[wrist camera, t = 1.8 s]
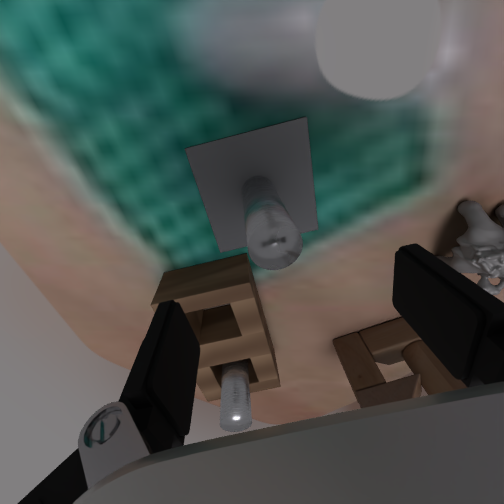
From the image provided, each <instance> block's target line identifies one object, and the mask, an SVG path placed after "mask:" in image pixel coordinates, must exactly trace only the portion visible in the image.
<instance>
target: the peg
mask: <svg viewBox="0 0 504 504" xmlns="http://www.w3.org/2000/svg"><path fill="white" fill-rule="evenodd" d="M242 202H243V211H244V219H245V228H246V236H247V245H248V252H249V255H250V258H251V259H252V261H253V262H254V263H255V264H256V265H258V266H259V267H261V268H264V269H268V270H278V269H282V268H285V267H287V266H289V265H291V264H292V263H293V262H294V261H295V260H296V259H297V258H298V257H299V255H300V253H301V251H302V246H303V242H302V237H301V235H300V233H299V231H298V229H297V227H296V225H295V224H294V222H293V220H292V218H291V216H290V215H289V213H288V211H287V209H286V207H285V205H284V204H283V202H282V200H281V198H280V196H279V195H278V193H277V191H276V189H275V187H274V185H273V184H272V182H271V181H270V180H269V179H267V178H265V177H262V176H256V177H252V178H250V179H249V180H247V181H246V182H245V184H244V186H243V188H242Z"/></svg>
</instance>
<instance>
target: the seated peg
mask: <svg viewBox="0 0 504 504" xmlns="http://www.w3.org/2000/svg"><path fill="white" fill-rule="evenodd" d="M251 424H252V418H251V403H250V387H249V371H248V359H243V360H238V361H233V362H229V363H224V364H222V381H221V408H220V427H221V428H222V429H223V430H226V431H230V432H238V431H242V430H245V429H247V428H249V427H250V426H251Z"/></svg>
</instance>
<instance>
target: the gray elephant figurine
mask: <svg viewBox="0 0 504 504" xmlns="http://www.w3.org/2000/svg"><path fill="white" fill-rule="evenodd" d="M458 211H459V213H460V214H462V215H463V216H464V218H465V220H466V222H467V224H468V227H469V228H468V229H467V231H466V232H465V233H464V234H463V235H462V236H460V237H458V238H457V243H458V244H460V246H458V247H454V248H452V252H453V257H445V256H436V257H437V258H439V259H440V260H442V261H443V262H445V263H446V264H448V265H449V266H451V267H452V268H453V269H455V270H456V271H458V272H459V273H477V274H478V275H481V279H480V280H479V281H478V283H477V285H478V286H480V287H481V288H483V289H484V290H486V291H487V292H489V293H490V294H491V295H497V294H499V293H500V291H501V289H502V288H503V287H504V204H503V205H501V206H500V207H498V208H497V209H496V211H495V214H496V216H497V218H498V219H499V221H500V223H501V225H502V227H503V228H502V227H501V226H499V225H498V224H496V223H494V222H493V221H492V220H491V219H490V218H489V217H488V215H487V214H486V212H485V211H484V210H483V209H482V206H481V205H480V204H479V203H477V202H475V201H465V202H462V203H461V204H460V205H459V206H458ZM496 277H498V278H499V279H501V280H500V283H499V284H498V285H495V286H494V285H492V284H491V283H490V282H489V280H488V278H496Z"/></svg>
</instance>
